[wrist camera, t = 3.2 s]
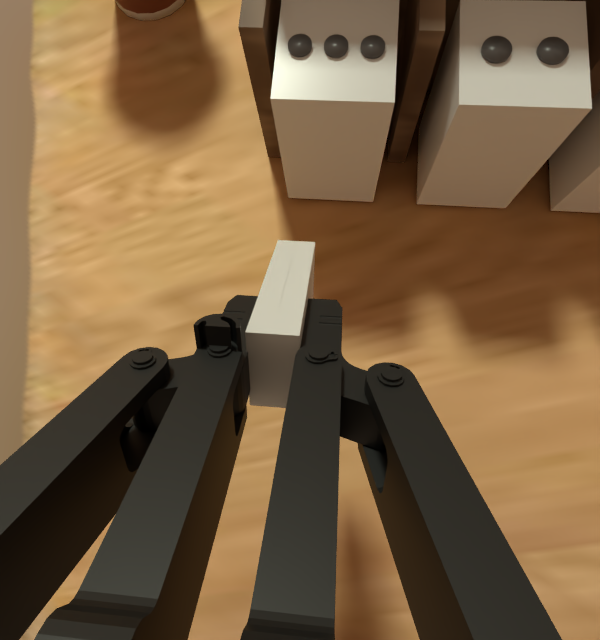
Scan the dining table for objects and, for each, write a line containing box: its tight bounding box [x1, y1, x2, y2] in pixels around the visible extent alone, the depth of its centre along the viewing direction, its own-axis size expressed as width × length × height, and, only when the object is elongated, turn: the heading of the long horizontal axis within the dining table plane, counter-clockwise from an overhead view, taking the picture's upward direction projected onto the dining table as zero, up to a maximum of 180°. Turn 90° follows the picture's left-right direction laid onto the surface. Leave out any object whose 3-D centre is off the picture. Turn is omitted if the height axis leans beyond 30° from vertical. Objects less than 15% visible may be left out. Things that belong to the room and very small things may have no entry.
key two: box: [417, 0, 592, 208], centre depth 26 cm, size 6×6×10 cm
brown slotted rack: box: [239, 0, 600, 162], centre depth 23 cm, size 28×8×17 cm, turn 85°
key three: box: [270, 0, 399, 202], centre depth 26 cm, size 6×6×10 cm
